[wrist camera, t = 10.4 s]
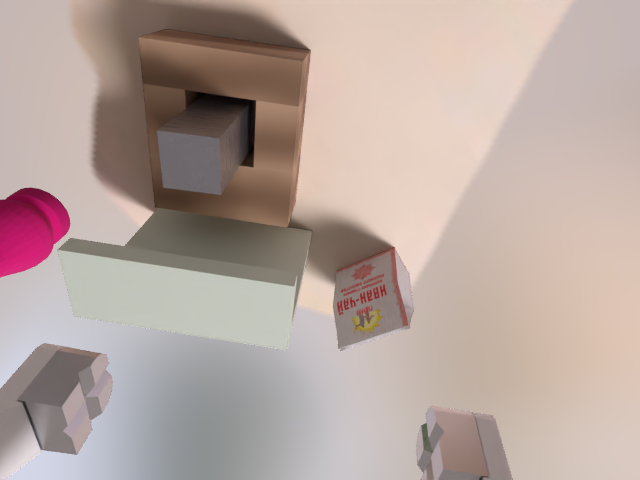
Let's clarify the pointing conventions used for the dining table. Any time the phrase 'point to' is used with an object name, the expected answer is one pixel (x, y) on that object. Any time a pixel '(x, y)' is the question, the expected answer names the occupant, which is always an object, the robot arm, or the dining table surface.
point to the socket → (241, 82)
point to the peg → (206, 143)
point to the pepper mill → (29, 229)
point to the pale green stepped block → (193, 278)
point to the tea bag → (372, 299)
